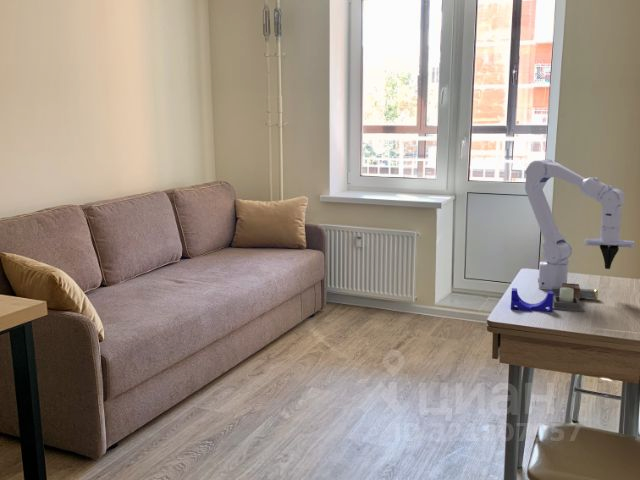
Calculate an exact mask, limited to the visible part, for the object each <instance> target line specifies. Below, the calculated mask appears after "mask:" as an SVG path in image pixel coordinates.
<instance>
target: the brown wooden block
mask: <svg viewBox="0 0 640 480" xmlns="http://www.w3.org/2000/svg"><path fill="white" fill-rule="evenodd" d="M562 287H568V288H572V289H574V294H573V297H576V298H578V300H579V301H581V300H580V299H581V298H580V289H581V287H580V284H579V283H568V282H567V283H562Z"/></svg>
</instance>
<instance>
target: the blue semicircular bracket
mask: <svg viewBox="0 0 640 480" xmlns="http://www.w3.org/2000/svg"><path fill="white" fill-rule="evenodd" d="M510 297H511V299H510V300H511V301H510V310H511V311H514V310H515V306H516V311H521V312H532V311H534V312H544V313H553V310H552V307H553V291H552V290H547V293H546V296H545V298H544V299H543V300H541V301H540V302H537V303H529V302H527V301H524V300H523V299H522V298H521V297H520V295H519V294H518V288H514V287H512V288H511V296H510Z"/></svg>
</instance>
